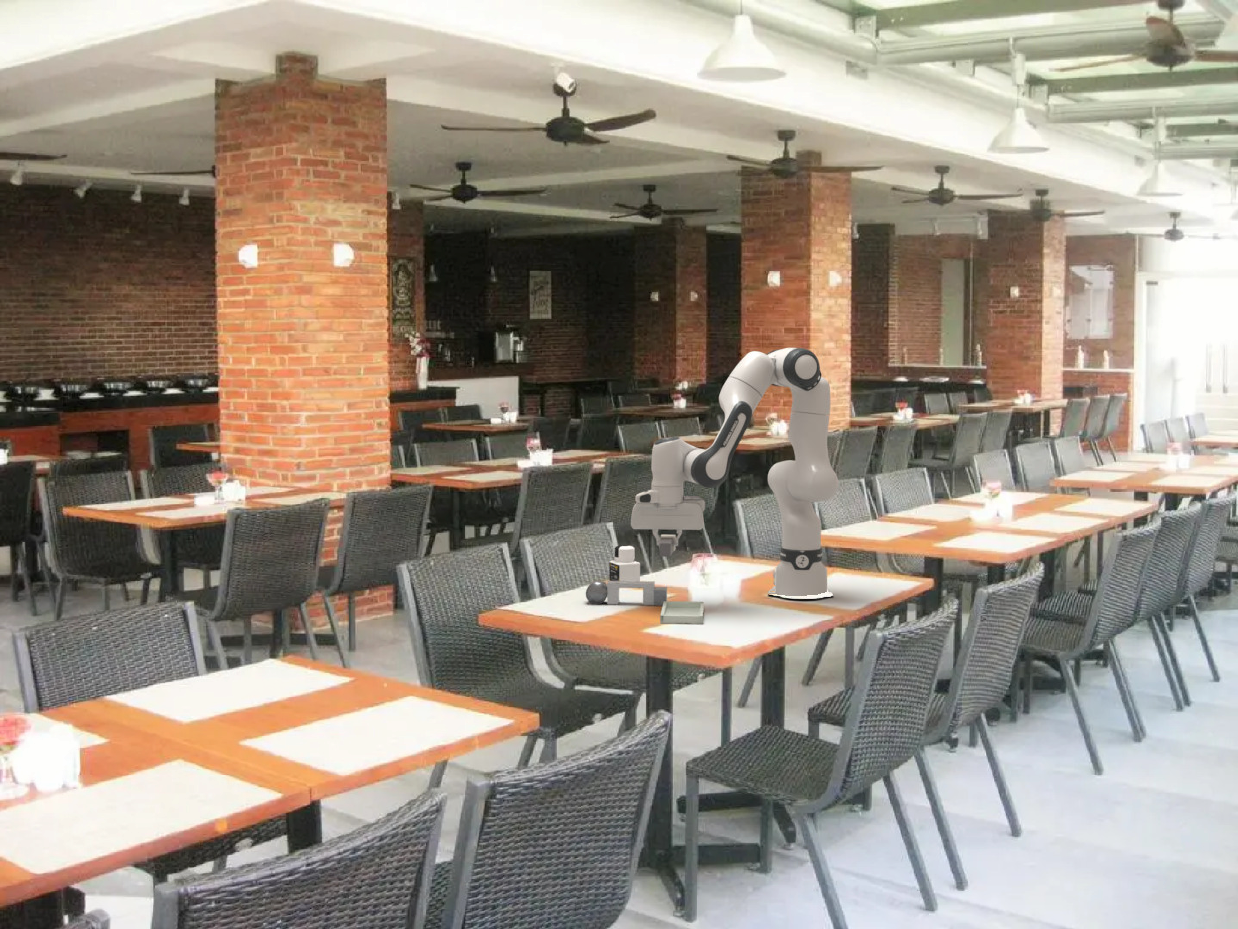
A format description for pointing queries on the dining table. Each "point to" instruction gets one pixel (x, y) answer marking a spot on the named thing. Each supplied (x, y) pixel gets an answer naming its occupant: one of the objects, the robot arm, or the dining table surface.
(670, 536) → the dark grey rectangular bar
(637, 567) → the medicine bottle
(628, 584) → the housing
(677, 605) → the tray
